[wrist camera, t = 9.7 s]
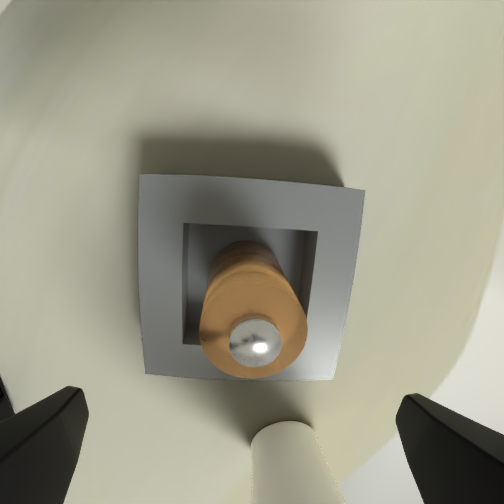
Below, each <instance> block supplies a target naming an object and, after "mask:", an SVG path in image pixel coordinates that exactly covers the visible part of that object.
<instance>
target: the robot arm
mask: <svg viewBox="0 0 504 504" xmlns="http://www.w3.org/2000/svg"><path fill="white" fill-rule="evenodd" d="M88 417H89V411H88V407H87V403H86V400H85V396H84V392H83V390H82V389H81V388H78V387H73V386H67V387H65V388H63V389H61V390H59V391H58V392H56V393H54V394H52V395H50V396H48V397H47V398H45V399H43V400H41V401H39V402H37V403H35V404H34V405H32V406H30V407H28V408H26V409H24V410H22V411H20V412H19V413H17V414H14V412H13V410H12V407H11V405H10V402H9V400H8V397H7V395H6V392H5V389H4V387H3V384H2V381H1V378H0V504H63V503H64V500H65V497H66V494H67V491H68V488H69V485H70V482H71V479H72V476H73V473H74V471H75V468H76V465H77V462H78V458H79V454H80V450H81V446H82V441H83V437H84V433H85V429H86V425H87V421H88ZM396 425H397V428H398V431H399V435H400V438H401V441H402V445H403V448H404V452H405V455H406V458H407V462H408V464H409V467H410V469H411V472H412V474H413V477H414V479H415V482H416V484H417V486H418V489H419V491H420V494H421V497H422V499H423V502H424V504H504V435H503V434H501V433H499V432H496V431H494V430H492V429H490V428H488V427H485V426H483V425H481V424H479V423H477V422H475V421H473V420H471V419H469V418H467V417H464V416H462V415H460V414H458V413H456V412H454V411H452V410H450V409H448V408H446V407H444V406H442V405H440V404H438V403H436V402H434V401H432V400H430V399H428V398H426V397H424V396H422V395H420V394H418V393H414V394H408V395H406V396H404V398H403V400H402V402H401V405H400V407H399V410H398V412H397V415H396Z"/></svg>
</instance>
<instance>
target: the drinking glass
mask: <svg viewBox="0 0 504 504" xmlns="http://www.w3.org/2000/svg"><path fill="white" fill-rule="evenodd" d="M251 459H252V486H251V504H346V502H345V499H344V497H343V495H342V493H341V491H340V489H339V487H338V484H337V482H336V480H335V478H334V476H333V474H332V471H331V469H330V467H329V465H328V463H327V460H326V458H325V456H324V454H323V451H322V449H321V446H320V443H319V440H318V437H317V435H316V433H315V431H314V430H313V429H312V428H311V427H310V426H308V425H306V424H304V423H301V422H296V421H283V422H277V423H274V424H271V425H269V426H267V427H265V428H263V429H262V430H260V431H259V432H258V433H257V434H256V435H255V437H254V438H253V440H252V443H251Z"/></svg>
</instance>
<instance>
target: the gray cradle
mask: <svg viewBox="0 0 504 504" xmlns="http://www.w3.org/2000/svg"><path fill="white" fill-rule="evenodd" d="M364 196H365V190H359V189H353V188H347V187H339V186H330V185H321V184H312V183H302V182H291V181H280V180H268V179H255V178H241V177H224V176H205V175H181V174H140V176H139V202H138V273H139V299H140V317H141V331H142V344H143V355H144V365H145V374H154V375H163V376H174V377H186V378H200V379H217V380H242V381H307V380H332V379H333V377H334V373H335V369H336V364H337V360H338V355H339V351H340V346H341V342H342V337H343V332H344V327H345V322H346V317H347V312H348V307H349V301H350V296H351V290H352V284H353V278H354V272H355V266H356V259H357V252H358V245H359V238H360V231H361V223H362V214H363V205H364ZM242 240H249V241H254V242H258V243H260V244H262V245H264V246H266V247H267V248H268V249H269V250H270V251H271V252H272V253H273V254H274V255H275V257H276V259H277V261H278V263H279V265H280V267H281V268H282V270H283V272H284V274H285V276H286V278H287V280H288V282H289V284H290V286H291V288H292V289H293V291H294V293H295V295H296V297H297V299H298V301H299V303H300V305H301V307H302V309H303V311H304V313H305V316H306V319H307V324H308V334H307V339H306V343H305V346H304V348H303V350H302V352H301V353H300V355H299V356H298V357H297V359H296V360H295V361H294V362H293V363H292V364H291V365H289V366H288V367H287V368H285V369H284V370H282V371H280V372H278V373H276V374H274V375H271V376H267V377H263V378H255V379H248V378H240V377H236V376H232V375H230V374H227V373H225V372H223V371H222V370H220V369H218V368H217V367H216V366H215V365H213V364H212V363H211V362H210V361H209V359H208V358H207V357H206V355H205V353H204V351H203V349H202V347H201V344H200V339H199V326H200V320H201V315H202V310H203V304H204V299H205V294H206V289H207V284H208V278H209V273H210V268H211V264H212V262H213V260H214V258H215V256H216V255H217V253H218V252H219V251H220V250H221V249H222V248H224V247H225V246H227V245H229V244H231V243H233V242H236V241H242Z"/></svg>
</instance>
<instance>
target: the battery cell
mask: <svg viewBox="0 0 504 504" xmlns="http://www.w3.org/2000/svg"><path fill="white" fill-rule="evenodd" d="M307 334H308V324H307V319H306V316H305V313H304V311H303V309H302V307H301V305H300V303H299V301H298V299H297V297H296V295H295V293H294V291H293V289H292V288H291V286H290V284H289V282H288V280H287V278H286V276H285V274H284V272H283V270H282V268H281V267H280V265H279V263H278V261H277V259H276V257H275V255H274V254H273V253H272V252H271V251H270V250H269V249H268V248H267V247H266V246H264V245H262V244H260V243H258V242H254V241H249V240H242V241H236V242H233V243H231V244H229V245H227V246H225V247H224V248H222V249H221V250H220V251H219V252H218V253H217V255H216V256H215V258H214V260H213V262H212V264H211V268H210V273H209V278H208V284H207V289H206V294H205V299H204V304H203V310H202V315H201V320H200V326H199V339H200V344H201V347H202V349H203V351H204V353H205V355H206V357H207V358H208V359H209V361H210V362H211V363H212V364H213V365H215V366H216V367H217V368H218V369H220V370H222V371H223V372H225V373H227V374H230V375H232V376H236V377H240V378H248V379H255V378H263V377H267V376H271V375H274V374H276V373H278V372H280V371H282V370H284V369H285V368H287V367H288V366H289V365H291V364H292V363H293V362H294V361H295V360H296V359H297V357H298V356H299V355H300V353H301V352H302V350H303V348H304V346H305V343H306V339H307Z"/></svg>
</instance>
